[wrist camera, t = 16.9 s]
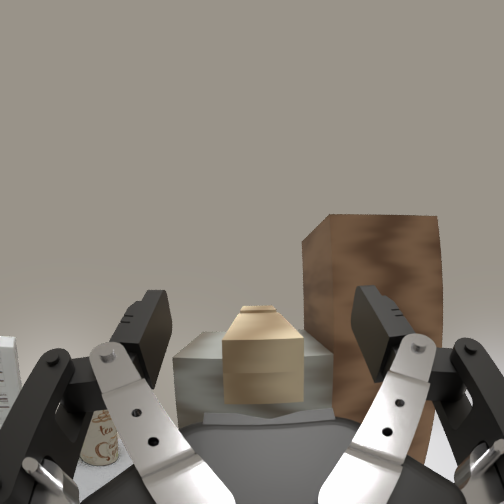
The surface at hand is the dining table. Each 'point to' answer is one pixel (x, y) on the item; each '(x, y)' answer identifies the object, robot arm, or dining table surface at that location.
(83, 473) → the dining table surface
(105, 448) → the mug
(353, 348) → the step shelf
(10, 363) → the supplement box
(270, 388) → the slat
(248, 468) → the robot arm
